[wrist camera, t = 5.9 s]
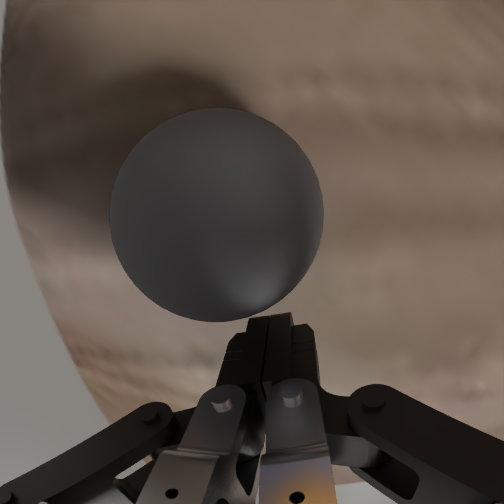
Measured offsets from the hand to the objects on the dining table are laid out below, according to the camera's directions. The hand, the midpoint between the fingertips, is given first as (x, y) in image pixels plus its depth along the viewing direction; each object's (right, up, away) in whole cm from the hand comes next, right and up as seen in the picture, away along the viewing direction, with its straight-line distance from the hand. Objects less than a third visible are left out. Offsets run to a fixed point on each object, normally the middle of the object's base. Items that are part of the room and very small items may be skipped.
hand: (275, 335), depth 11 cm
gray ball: (-2, +4, -2) cm, 5 cm away
